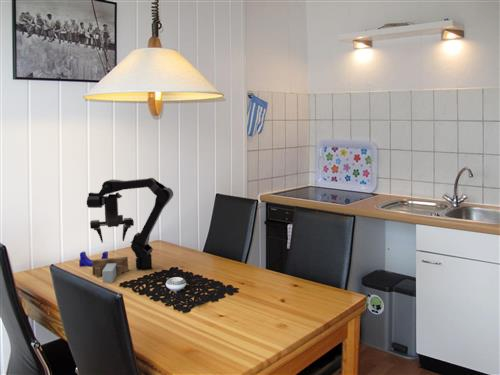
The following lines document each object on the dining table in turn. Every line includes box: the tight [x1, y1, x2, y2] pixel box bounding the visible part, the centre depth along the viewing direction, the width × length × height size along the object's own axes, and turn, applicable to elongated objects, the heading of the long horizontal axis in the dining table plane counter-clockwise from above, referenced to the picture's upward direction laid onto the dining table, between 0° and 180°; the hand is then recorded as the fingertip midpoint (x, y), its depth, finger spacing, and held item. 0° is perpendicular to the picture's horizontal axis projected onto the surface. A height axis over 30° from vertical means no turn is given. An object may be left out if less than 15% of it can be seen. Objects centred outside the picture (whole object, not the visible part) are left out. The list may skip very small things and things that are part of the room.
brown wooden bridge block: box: [91, 256, 129, 278], centre depth 225 cm, size 15×6×6 cm, turn 109°
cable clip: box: [78, 250, 109, 267], centre depth 239 cm, size 12×4×6 cm, turn 89°
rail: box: [101, 263, 117, 284], centre depth 218 cm, size 4×12×5 cm, turn 6°
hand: (112, 241), depth 233 cm, fingers open, 9 cm apart
